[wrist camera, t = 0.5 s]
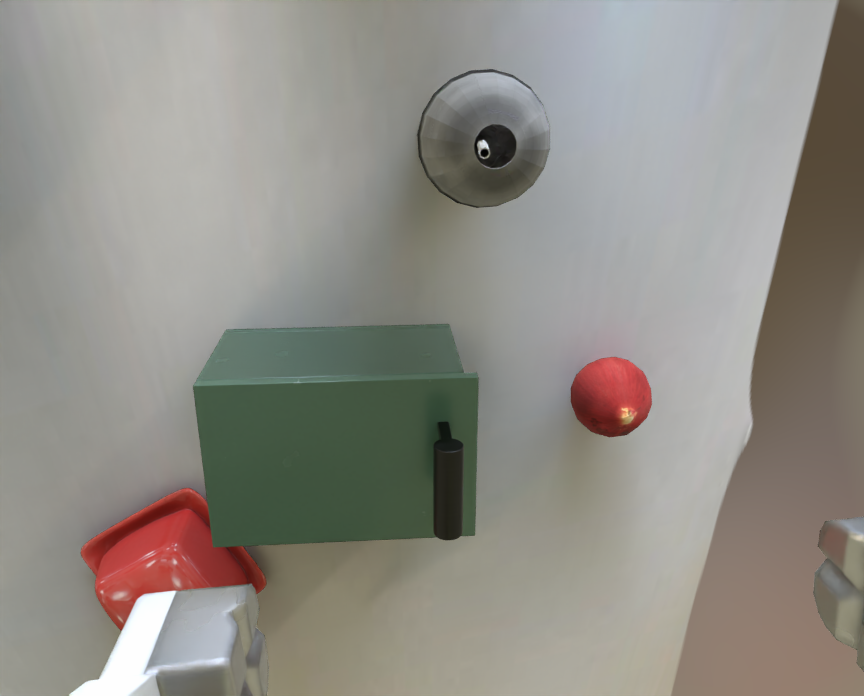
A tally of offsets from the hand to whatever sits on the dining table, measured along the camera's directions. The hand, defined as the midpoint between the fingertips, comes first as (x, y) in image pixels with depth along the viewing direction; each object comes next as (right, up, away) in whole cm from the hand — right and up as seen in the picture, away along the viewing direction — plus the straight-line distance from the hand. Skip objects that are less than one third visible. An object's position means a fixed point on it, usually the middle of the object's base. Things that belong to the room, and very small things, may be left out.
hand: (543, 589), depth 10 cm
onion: (+11, +1, +48) cm, 49 cm away
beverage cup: (0, +19, +40) cm, 44 cm away
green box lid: (-7, -4, +37) cm, 38 cm away
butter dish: (-23, -14, +50) cm, 57 cm away
